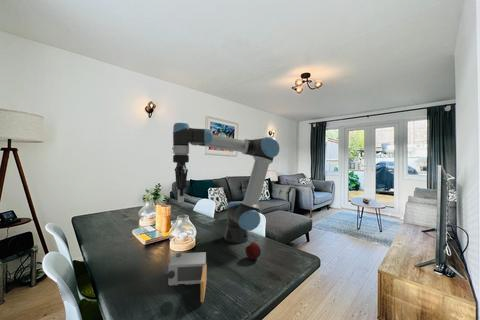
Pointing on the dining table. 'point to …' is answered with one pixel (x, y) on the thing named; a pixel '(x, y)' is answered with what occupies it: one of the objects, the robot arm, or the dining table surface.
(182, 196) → the robot arm
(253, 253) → the apple
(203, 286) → the side door
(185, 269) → the small grey cabinet
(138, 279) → the dining table surface
